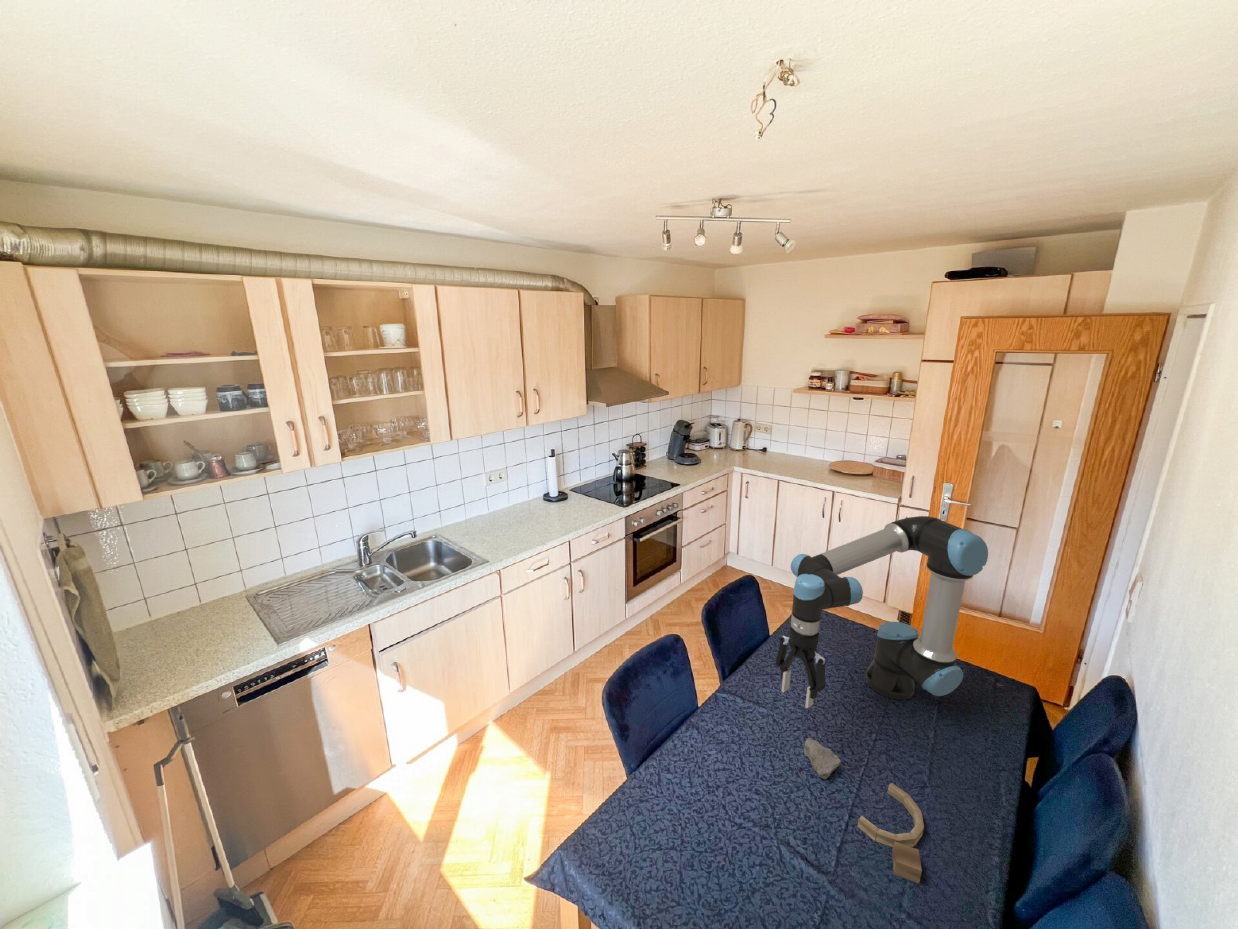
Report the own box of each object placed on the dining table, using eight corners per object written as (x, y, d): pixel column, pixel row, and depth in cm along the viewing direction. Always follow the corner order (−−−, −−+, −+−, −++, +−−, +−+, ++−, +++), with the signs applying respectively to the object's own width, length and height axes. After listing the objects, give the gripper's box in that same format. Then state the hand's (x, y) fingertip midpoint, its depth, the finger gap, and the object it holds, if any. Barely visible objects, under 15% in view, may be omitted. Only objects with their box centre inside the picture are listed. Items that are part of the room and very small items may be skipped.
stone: (824, 785, 133) (826, 768, 132) (794, 759, 141) (796, 743, 140) (842, 771, 137) (844, 754, 136) (812, 747, 146) (814, 731, 144)
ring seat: (890, 790, 132) (891, 782, 131) (933, 820, 123) (935, 813, 123) (857, 826, 122) (858, 819, 121) (902, 862, 114) (903, 854, 113)
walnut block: (891, 854, 116) (894, 841, 115) (915, 862, 114) (918, 849, 113) (893, 874, 111) (896, 861, 110) (918, 884, 109) (921, 871, 108)
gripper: (766, 617, 141) (760, 683, 147) (830, 652, 126) (821, 725, 132) (781, 608, 145) (775, 673, 152) (846, 641, 130) (836, 712, 136)
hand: (796, 697), depth 142 cm, fingers open, 7 cm apart
